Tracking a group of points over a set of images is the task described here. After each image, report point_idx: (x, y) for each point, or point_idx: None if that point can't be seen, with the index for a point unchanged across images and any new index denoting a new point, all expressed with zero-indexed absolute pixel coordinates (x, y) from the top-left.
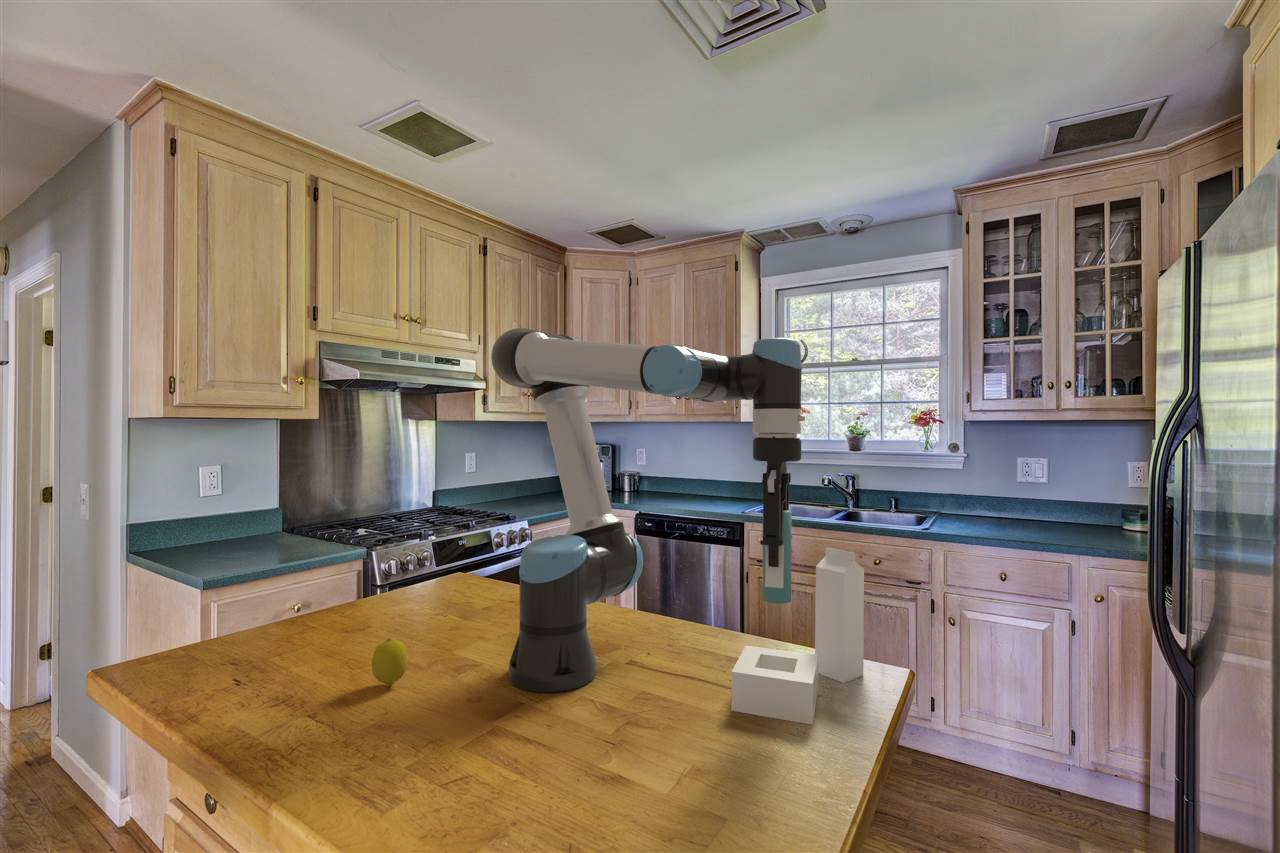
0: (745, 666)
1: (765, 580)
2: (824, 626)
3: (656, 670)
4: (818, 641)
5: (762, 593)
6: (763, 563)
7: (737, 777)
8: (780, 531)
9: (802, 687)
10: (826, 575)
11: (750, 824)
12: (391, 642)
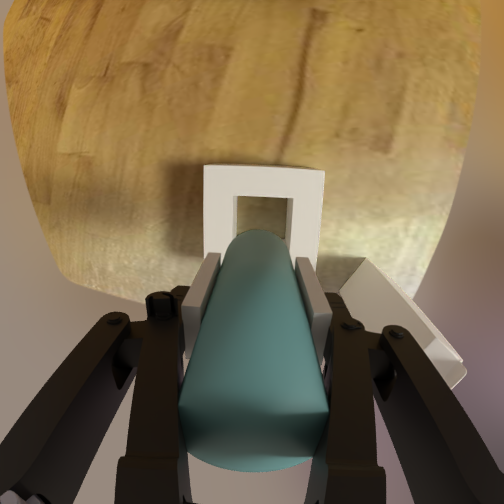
0: (231, 181)
1: (206, 258)
2: (379, 298)
3: (305, 46)
4: (377, 278)
5: (252, 233)
6: (234, 264)
7: (91, 199)
8: (126, 388)
9: None
10: None
11: (51, 221)
12: None
